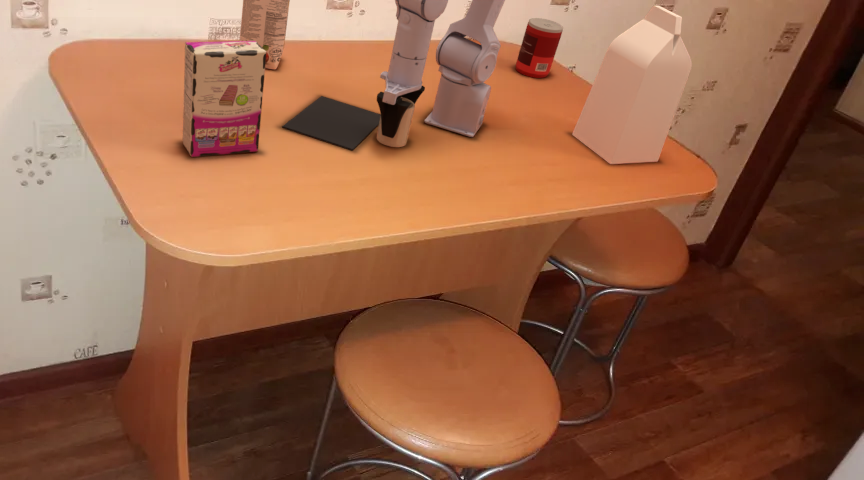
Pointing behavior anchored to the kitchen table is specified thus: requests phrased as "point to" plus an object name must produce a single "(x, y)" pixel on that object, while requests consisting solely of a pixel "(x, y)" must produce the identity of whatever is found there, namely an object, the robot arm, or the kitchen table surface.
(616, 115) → the milk
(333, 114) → the placemat
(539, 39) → the canned food
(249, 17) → the juice carton
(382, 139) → the cream cup
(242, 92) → the candy bar box
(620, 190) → the kitchen table surface
